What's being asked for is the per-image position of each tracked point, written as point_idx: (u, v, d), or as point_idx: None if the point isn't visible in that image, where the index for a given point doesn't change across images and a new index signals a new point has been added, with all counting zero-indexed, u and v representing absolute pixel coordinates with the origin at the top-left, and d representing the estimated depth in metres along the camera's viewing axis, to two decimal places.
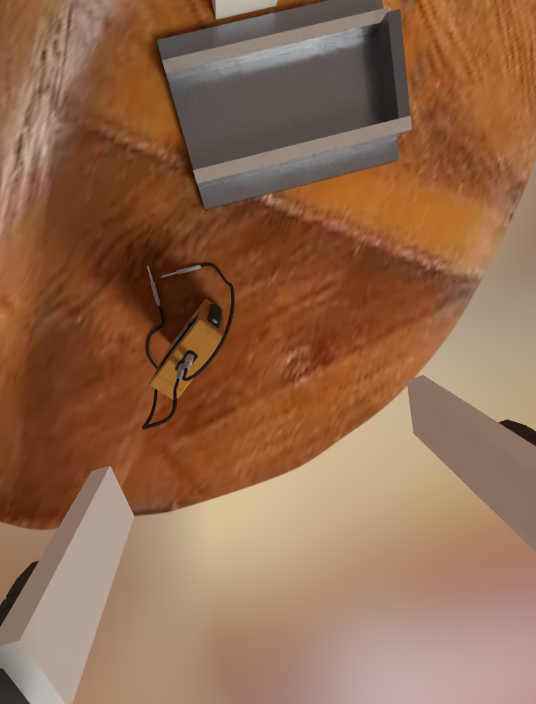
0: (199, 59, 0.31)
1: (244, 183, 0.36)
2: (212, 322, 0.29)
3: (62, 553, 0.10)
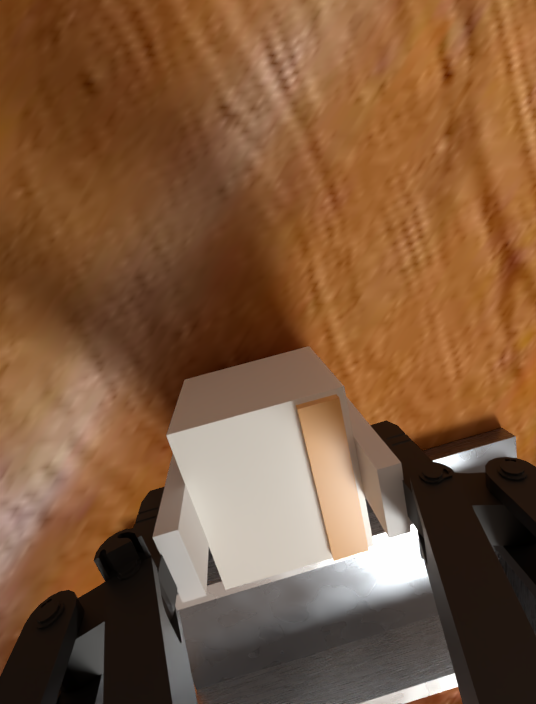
0: None
1: None
2: None
3: None
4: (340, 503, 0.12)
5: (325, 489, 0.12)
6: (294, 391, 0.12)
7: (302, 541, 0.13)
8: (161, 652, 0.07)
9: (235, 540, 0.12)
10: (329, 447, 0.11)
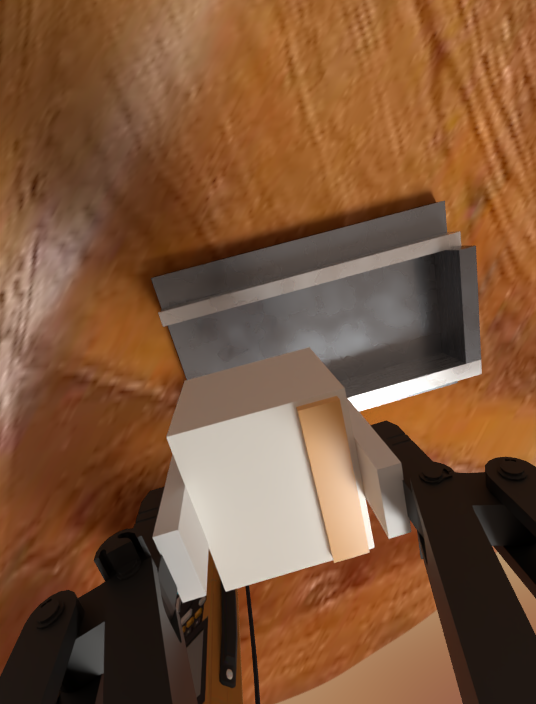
0: (208, 308, 0.23)
1: None
2: (226, 683, 0.22)
3: None
4: (341, 504, 0.12)
5: (325, 491, 0.12)
6: (294, 393, 0.12)
7: (303, 543, 0.13)
8: (161, 652, 0.07)
9: (236, 542, 0.12)
10: (330, 449, 0.11)
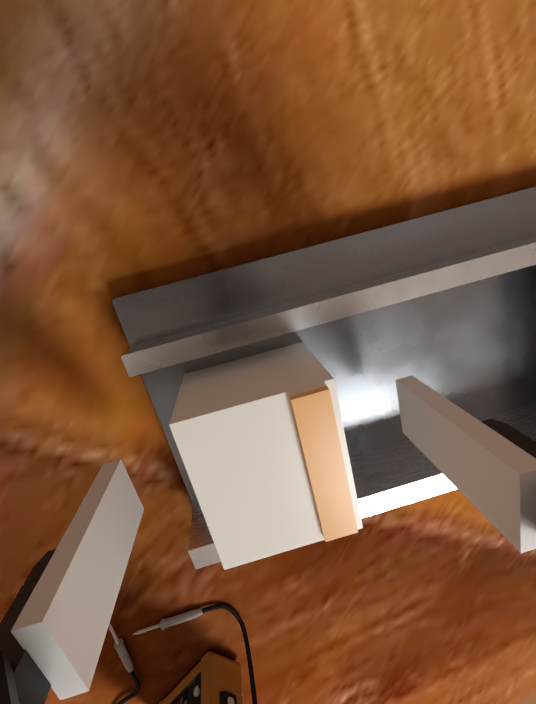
0: (201, 347, 0.15)
1: None
2: None
3: (79, 541, 0.10)
4: (331, 487, 0.13)
5: (316, 474, 0.13)
6: (287, 383, 0.13)
7: (296, 524, 0.14)
8: None
9: (234, 523, 0.13)
10: (320, 435, 0.12)
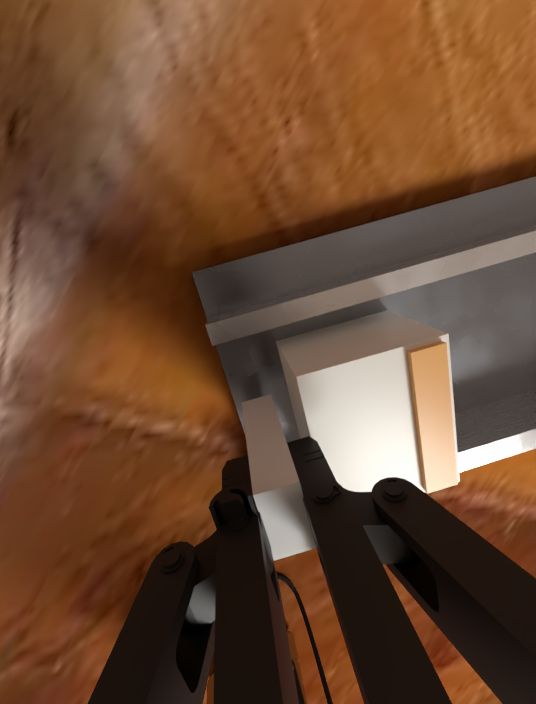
0: (280, 316, 0.15)
1: None
2: None
3: (265, 446, 0.12)
4: (438, 439, 0.14)
5: (426, 426, 0.14)
6: (400, 340, 0.13)
7: (400, 476, 0.15)
8: (267, 609, 0.07)
9: (344, 475, 0.14)
10: (433, 388, 0.13)
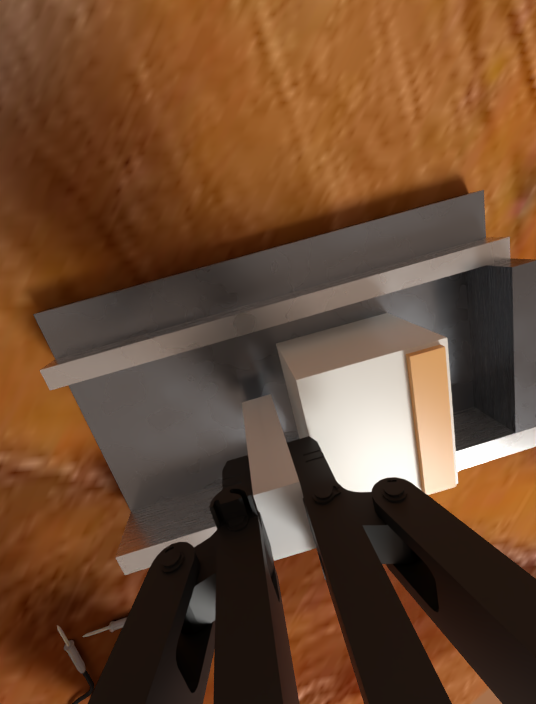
0: (119, 360, 0.15)
1: None
2: None
3: (265, 446, 0.12)
4: (437, 442, 0.14)
5: (425, 429, 0.14)
6: (399, 344, 0.13)
7: None
8: (267, 609, 0.07)
9: (343, 477, 0.14)
10: (432, 391, 0.13)
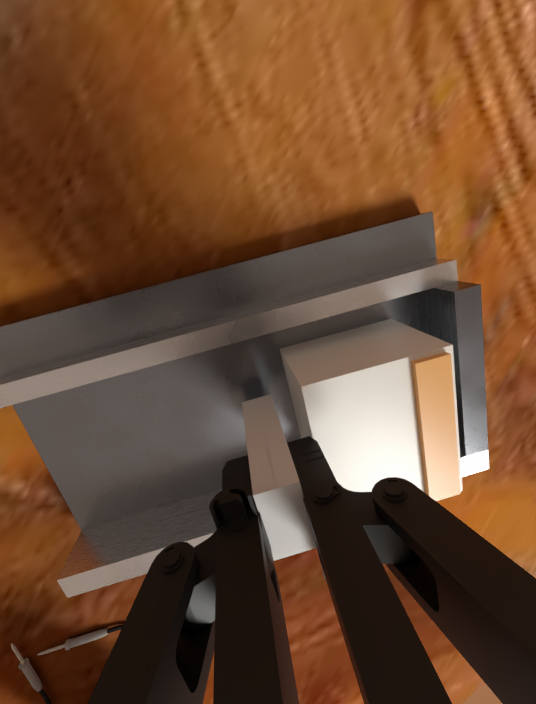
0: (58, 382, 0.15)
1: None
2: None
3: (265, 446, 0.12)
4: (441, 449, 0.14)
5: (430, 436, 0.14)
6: (404, 350, 0.13)
7: None
8: (267, 609, 0.07)
9: (347, 484, 0.14)
10: (437, 398, 0.13)
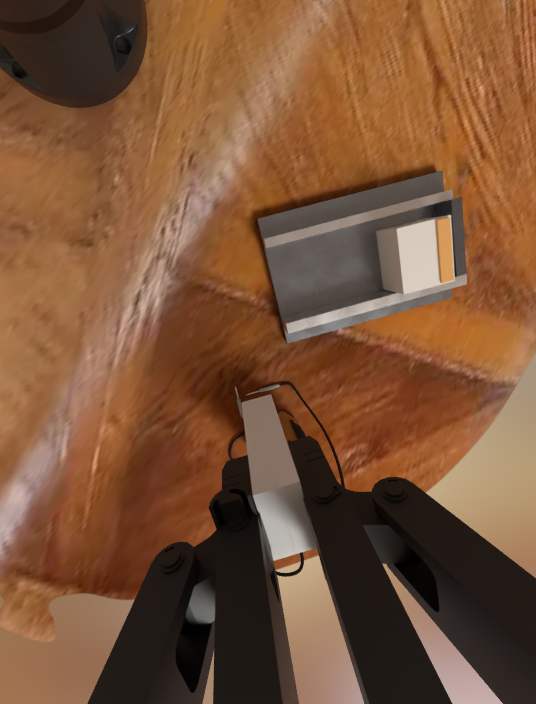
0: (294, 236, 0.37)
1: None
2: None
3: (265, 446, 0.12)
4: (446, 258, 0.36)
5: (442, 252, 0.36)
6: (433, 219, 0.36)
7: (431, 276, 0.37)
8: (266, 609, 0.07)
9: (410, 273, 0.37)
10: (445, 235, 0.36)
